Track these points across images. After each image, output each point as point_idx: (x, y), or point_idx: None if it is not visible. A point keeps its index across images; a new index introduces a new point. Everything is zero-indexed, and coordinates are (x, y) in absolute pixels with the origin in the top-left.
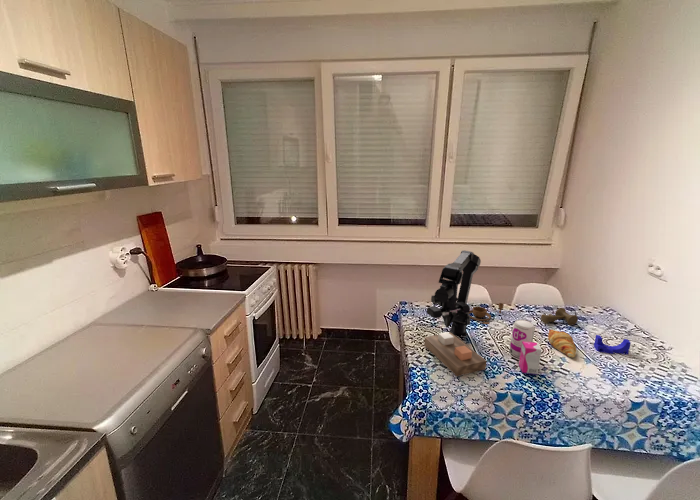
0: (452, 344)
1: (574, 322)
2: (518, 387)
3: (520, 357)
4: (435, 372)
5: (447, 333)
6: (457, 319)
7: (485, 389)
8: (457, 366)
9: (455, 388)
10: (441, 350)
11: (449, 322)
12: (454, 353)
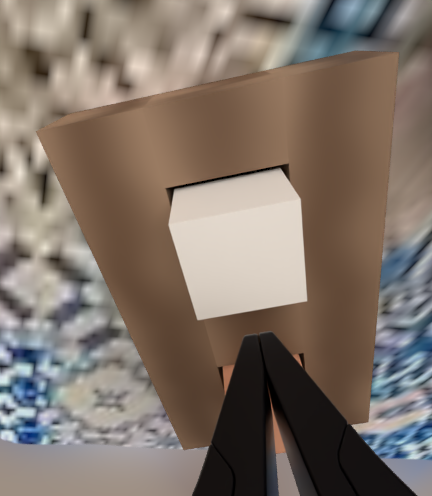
0: None
1: None
2: (384, 449)
3: None
4: (91, 377)
5: (280, 232)
6: None
7: None
8: (186, 444)
9: (150, 444)
10: (148, 335)
11: (293, 468)
12: (223, 373)
